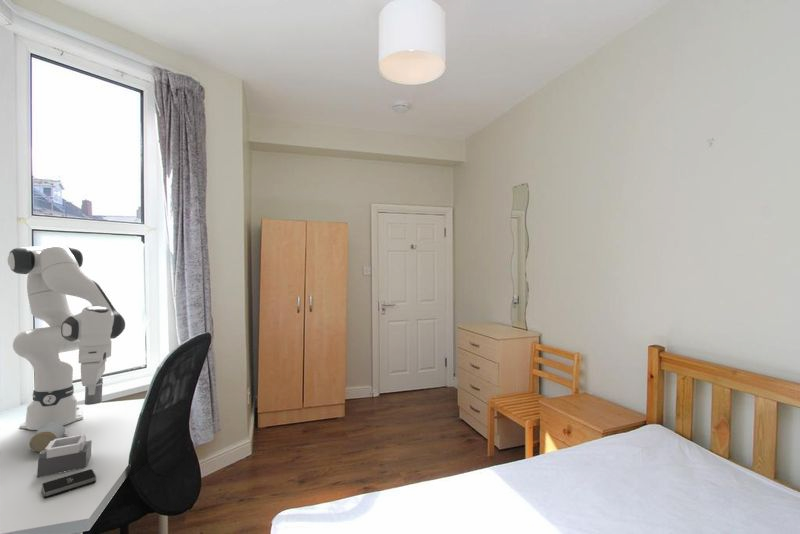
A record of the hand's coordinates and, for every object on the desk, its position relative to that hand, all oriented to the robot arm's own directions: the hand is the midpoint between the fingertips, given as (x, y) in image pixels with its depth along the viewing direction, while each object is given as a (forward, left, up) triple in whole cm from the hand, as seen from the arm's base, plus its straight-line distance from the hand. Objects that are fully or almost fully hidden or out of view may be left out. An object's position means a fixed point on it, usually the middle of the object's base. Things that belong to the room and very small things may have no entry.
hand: (93, 392), depth 129 cm
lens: (0, 0, -4) cm, 4 cm away
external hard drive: (+28, -1, -20) cm, 34 cm away
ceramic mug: (-6, -11, -19) cm, 23 cm away
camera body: (+13, -4, -19) cm, 23 cm away
